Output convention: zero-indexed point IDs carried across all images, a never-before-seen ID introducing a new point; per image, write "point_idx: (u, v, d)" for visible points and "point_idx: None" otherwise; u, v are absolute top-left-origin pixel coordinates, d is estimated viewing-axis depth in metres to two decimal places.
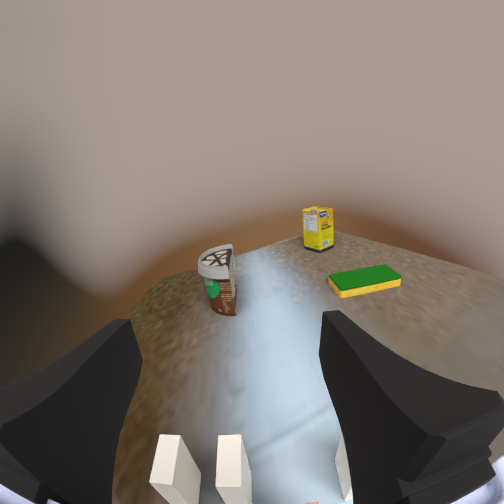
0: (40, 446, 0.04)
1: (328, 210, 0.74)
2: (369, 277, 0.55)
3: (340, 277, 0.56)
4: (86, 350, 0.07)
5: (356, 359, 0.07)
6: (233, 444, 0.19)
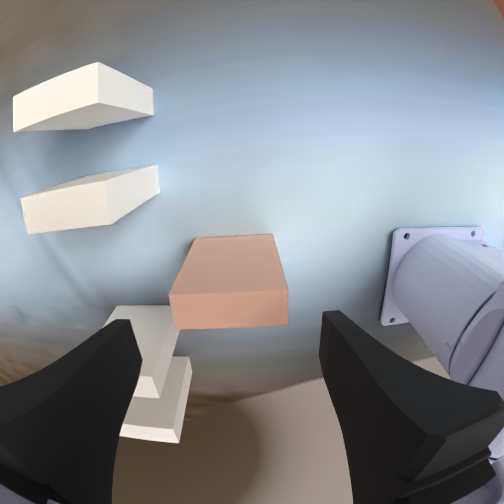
0: (40, 446, 0.04)
1: None
2: None
3: None
4: (86, 350, 0.07)
5: (356, 359, 0.07)
6: None
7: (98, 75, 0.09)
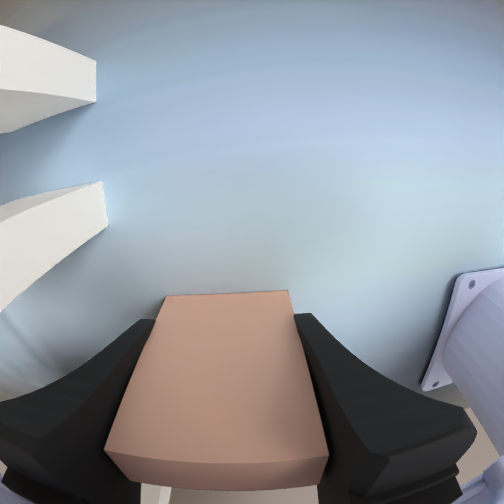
0: (75, 458, 0.04)
1: None
2: None
3: None
4: (114, 352, 0.07)
5: (318, 364, 0.07)
6: None
7: None
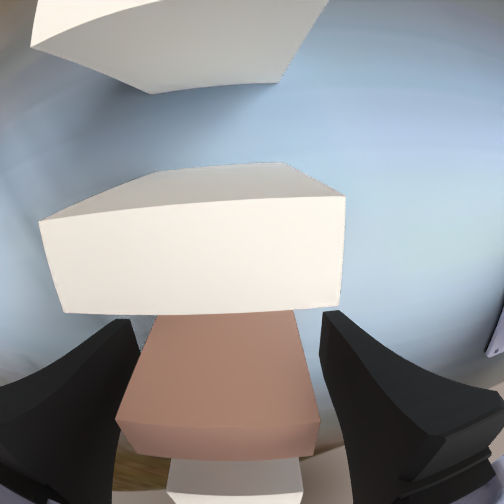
0: (40, 446, 0.04)
1: None
2: None
3: None
4: (86, 350, 0.07)
5: (356, 359, 0.07)
6: (195, 499, 0.08)
7: None
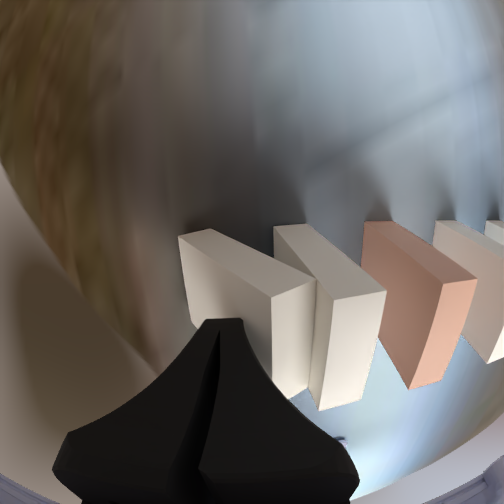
0: (191, 480, 0.04)
1: None
2: None
3: None
4: (197, 355, 0.07)
5: (220, 371, 0.07)
6: (366, 321, 0.08)
7: None
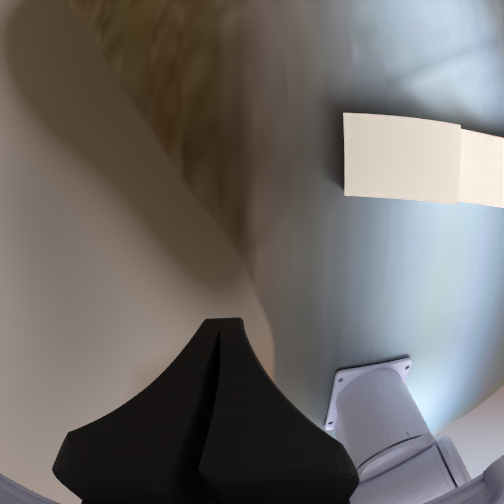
0: (191, 479, 0.04)
1: None
2: None
3: None
4: (197, 355, 0.07)
5: (220, 371, 0.07)
6: None
7: None
